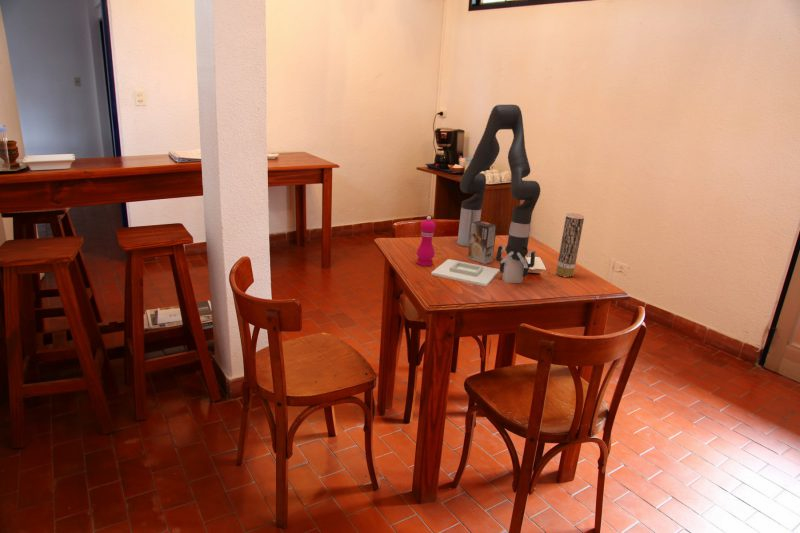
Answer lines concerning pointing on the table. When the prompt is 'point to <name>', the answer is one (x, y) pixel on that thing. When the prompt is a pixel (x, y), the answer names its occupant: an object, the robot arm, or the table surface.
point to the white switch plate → (466, 272)
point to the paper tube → (570, 244)
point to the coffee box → (482, 242)
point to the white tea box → (513, 271)
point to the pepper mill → (426, 243)
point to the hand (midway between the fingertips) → (513, 274)
